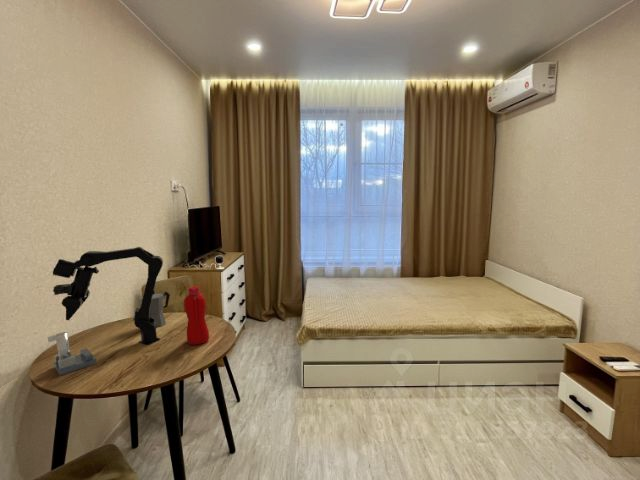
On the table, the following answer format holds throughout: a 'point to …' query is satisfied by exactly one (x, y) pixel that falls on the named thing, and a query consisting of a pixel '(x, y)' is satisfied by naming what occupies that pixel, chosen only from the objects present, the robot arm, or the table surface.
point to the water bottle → (196, 317)
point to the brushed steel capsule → (61, 344)
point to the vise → (74, 362)
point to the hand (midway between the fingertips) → (70, 316)
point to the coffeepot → (158, 308)
